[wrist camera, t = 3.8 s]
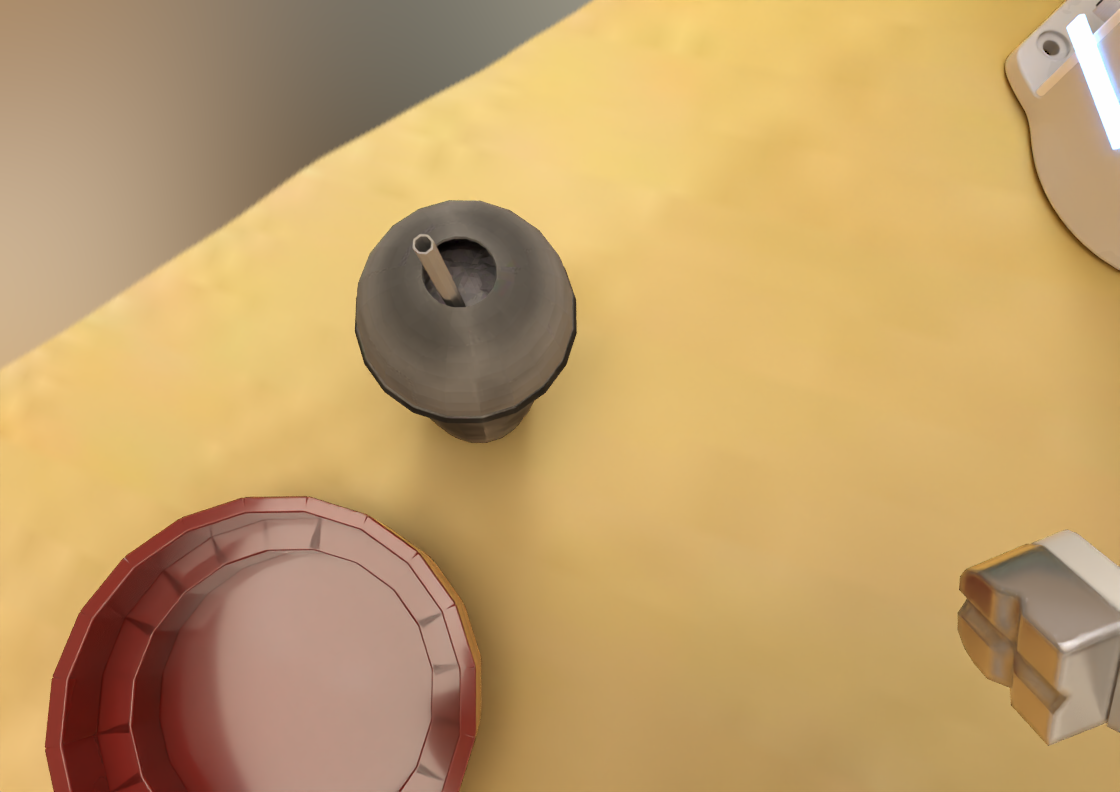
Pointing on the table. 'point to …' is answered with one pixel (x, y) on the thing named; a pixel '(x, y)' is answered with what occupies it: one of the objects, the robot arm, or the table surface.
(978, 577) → the robot arm
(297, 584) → the bowl
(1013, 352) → the table surface
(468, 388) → the beverage cup
